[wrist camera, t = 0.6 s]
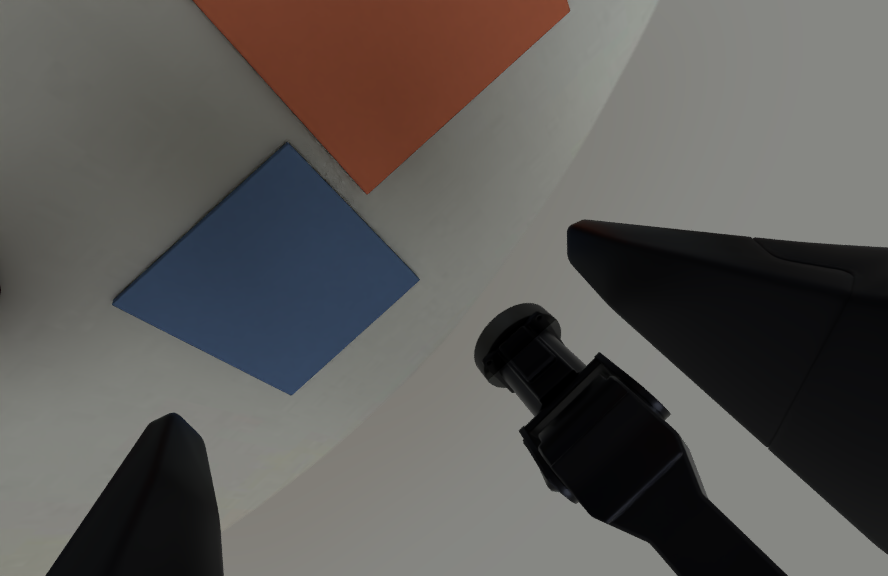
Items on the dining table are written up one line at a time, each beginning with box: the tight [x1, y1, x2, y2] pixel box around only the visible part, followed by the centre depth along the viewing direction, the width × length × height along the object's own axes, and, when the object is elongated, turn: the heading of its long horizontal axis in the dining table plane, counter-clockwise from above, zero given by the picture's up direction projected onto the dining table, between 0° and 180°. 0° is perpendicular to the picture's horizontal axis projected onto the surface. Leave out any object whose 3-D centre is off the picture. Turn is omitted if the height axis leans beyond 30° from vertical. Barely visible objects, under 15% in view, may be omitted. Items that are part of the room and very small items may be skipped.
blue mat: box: [112, 142, 420, 395], centre depth 21 cm, size 10×10×1 cm
